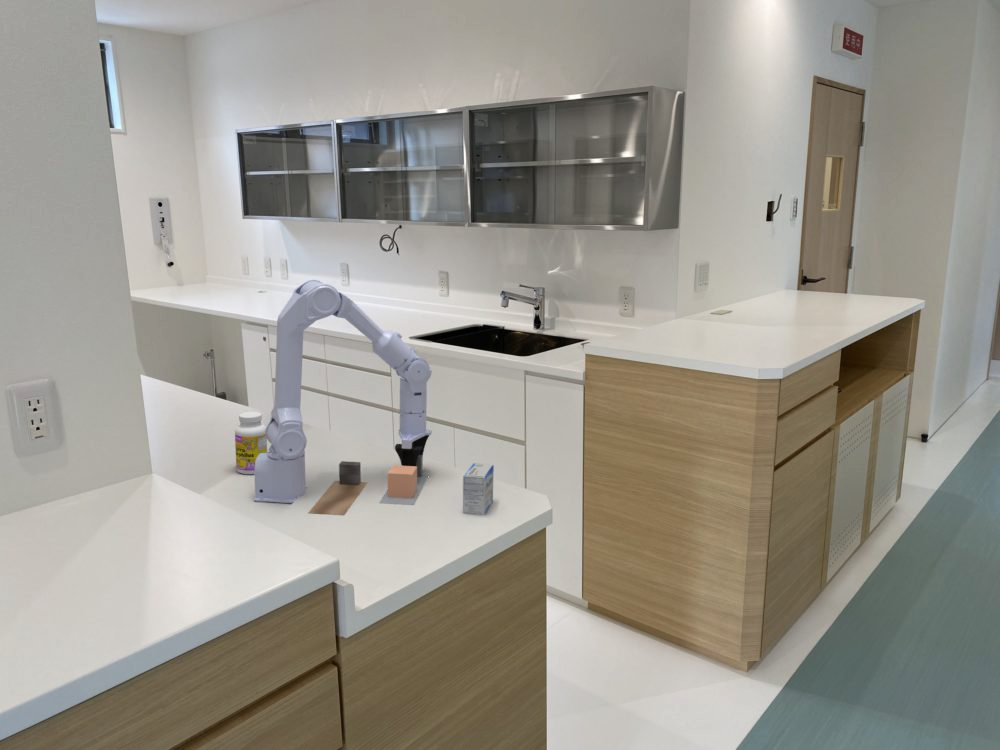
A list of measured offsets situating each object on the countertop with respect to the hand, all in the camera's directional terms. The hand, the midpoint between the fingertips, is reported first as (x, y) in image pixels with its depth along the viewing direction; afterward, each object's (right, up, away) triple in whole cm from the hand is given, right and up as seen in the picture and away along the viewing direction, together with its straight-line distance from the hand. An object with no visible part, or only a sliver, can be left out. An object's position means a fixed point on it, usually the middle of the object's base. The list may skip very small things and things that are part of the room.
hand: (412, 470), depth 164 cm
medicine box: (+15, -6, -16) cm, 23 cm away
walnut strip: (-13, -4, -13) cm, 19 cm away
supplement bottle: (-36, 0, +3) cm, 36 cm away
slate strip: (-1, -3, -6) cm, 7 cm away
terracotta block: (-1, -3, -11) cm, 11 cm away
